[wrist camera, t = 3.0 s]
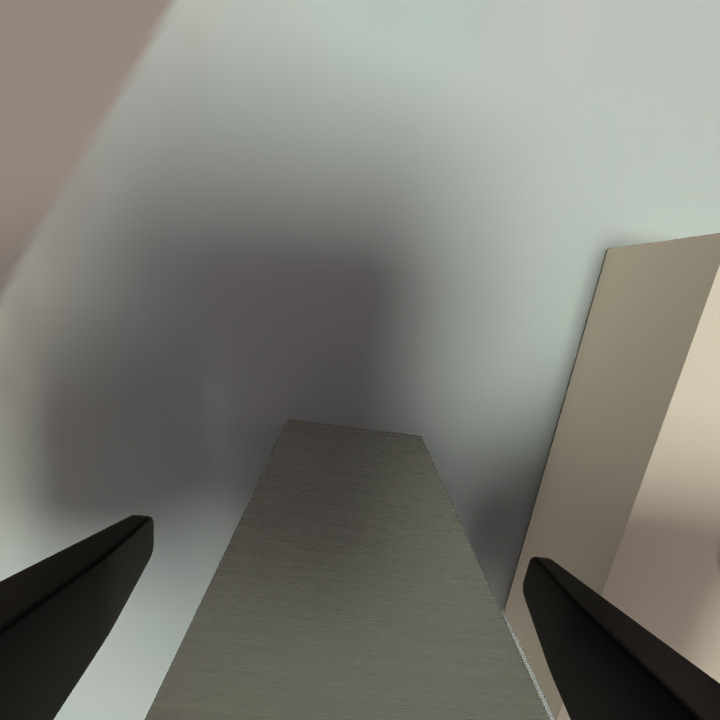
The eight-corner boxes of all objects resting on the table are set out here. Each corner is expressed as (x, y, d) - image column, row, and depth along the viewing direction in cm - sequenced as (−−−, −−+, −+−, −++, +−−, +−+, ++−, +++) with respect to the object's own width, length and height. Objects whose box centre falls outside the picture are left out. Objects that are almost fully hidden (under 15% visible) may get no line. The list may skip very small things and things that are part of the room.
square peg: (399, 548, 11) (516, 1207, 3) (276, 536, 11) (72, 1208, 3) (421, 436, 10) (656, 954, 2) (288, 420, 10) (43, 930, 2)
